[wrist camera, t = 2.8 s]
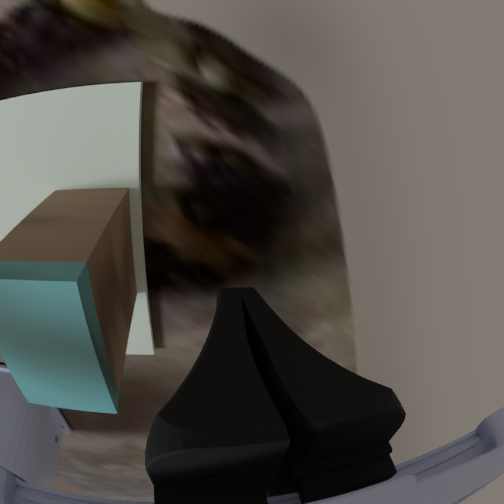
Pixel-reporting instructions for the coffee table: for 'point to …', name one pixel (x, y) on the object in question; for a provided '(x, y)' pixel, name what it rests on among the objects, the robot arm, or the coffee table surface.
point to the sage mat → (77, 163)
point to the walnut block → (69, 299)
